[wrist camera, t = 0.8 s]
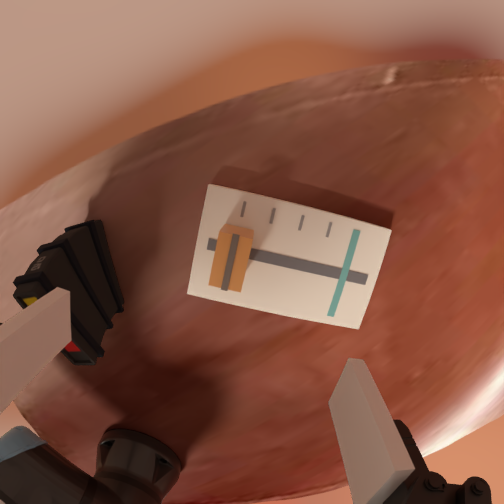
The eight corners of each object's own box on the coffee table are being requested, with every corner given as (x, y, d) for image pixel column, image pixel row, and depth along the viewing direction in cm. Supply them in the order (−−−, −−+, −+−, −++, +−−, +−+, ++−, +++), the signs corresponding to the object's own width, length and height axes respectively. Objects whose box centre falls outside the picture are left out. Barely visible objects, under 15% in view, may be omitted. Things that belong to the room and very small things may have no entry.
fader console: (354, 321, 36) (358, 329, 34) (190, 287, 36) (187, 294, 34) (384, 227, 34) (391, 230, 31) (211, 183, 33) (208, 184, 31)
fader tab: (242, 276, 33) (240, 294, 28) (215, 270, 33) (207, 286, 28) (254, 229, 32) (253, 238, 27) (225, 222, 32) (219, 230, 27)
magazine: (92, 193, 32) (33, 286, 20) (134, 277, 40) (109, 375, 28) (67, 201, 32) (7, 292, 20) (111, 281, 40) (82, 375, 28)
